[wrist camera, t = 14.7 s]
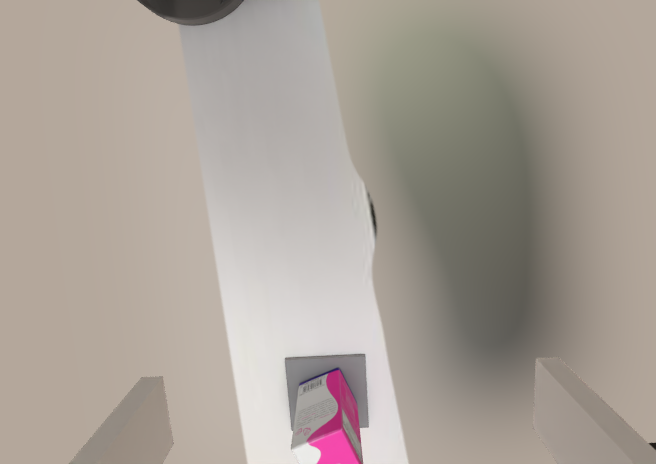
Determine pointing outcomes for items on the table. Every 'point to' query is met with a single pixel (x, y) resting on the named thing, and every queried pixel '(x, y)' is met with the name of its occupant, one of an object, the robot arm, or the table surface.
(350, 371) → the slate coaster
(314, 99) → the table surface
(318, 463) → the supplement box
